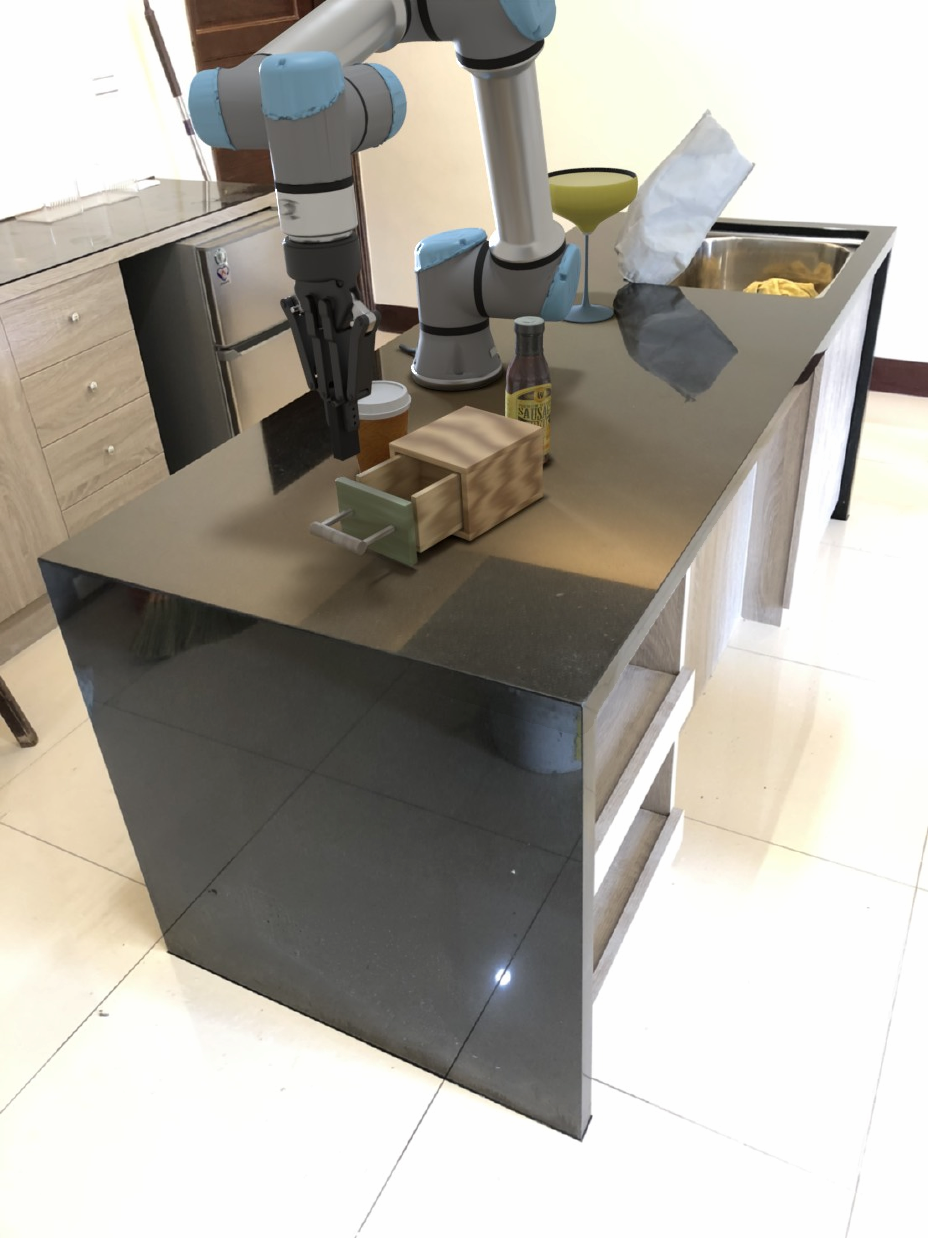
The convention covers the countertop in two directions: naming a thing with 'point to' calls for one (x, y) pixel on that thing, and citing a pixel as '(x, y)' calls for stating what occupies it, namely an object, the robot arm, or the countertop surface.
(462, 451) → the cabinet
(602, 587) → the countertop surface
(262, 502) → the countertop surface
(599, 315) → the cocktail glass
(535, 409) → the sauce bottle
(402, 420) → the disposable coffee cup
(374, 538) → the drawer
